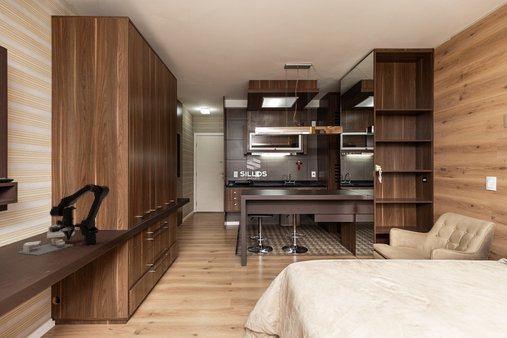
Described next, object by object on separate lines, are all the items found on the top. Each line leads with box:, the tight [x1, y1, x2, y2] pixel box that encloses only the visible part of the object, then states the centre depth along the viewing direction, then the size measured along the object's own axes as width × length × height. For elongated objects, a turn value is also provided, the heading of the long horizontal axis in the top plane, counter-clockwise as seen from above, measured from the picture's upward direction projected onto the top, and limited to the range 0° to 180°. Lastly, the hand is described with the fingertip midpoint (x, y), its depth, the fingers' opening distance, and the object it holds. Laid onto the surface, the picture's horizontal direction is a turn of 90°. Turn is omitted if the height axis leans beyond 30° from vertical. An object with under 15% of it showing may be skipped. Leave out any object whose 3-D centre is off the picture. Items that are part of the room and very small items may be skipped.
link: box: [50, 237, 66, 247], centre depth 170 cm, size 15×4×3 cm, turn 53°
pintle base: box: [16, 239, 75, 257], centre depth 164 cm, size 18×21×5 cm
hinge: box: [46, 223, 76, 239], centre depth 199 cm, size 17×5×10 cm, turn 117°
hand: (68, 240), depth 177 cm, fingers closed
